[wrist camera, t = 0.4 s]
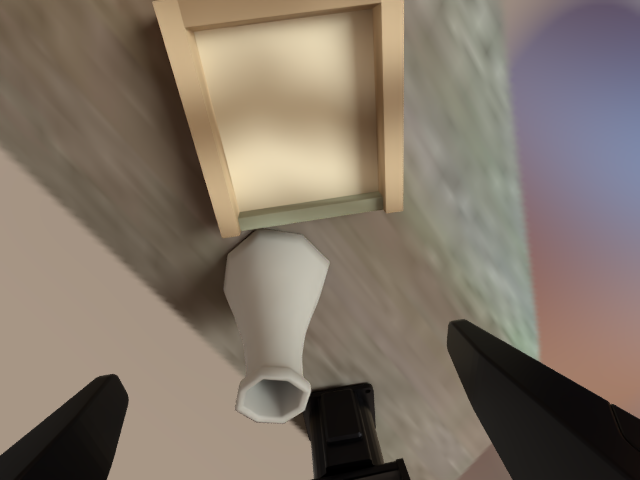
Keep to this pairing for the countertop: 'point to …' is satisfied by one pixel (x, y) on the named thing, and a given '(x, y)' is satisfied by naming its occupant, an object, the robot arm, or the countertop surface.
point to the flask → (273, 319)
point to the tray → (291, 105)
